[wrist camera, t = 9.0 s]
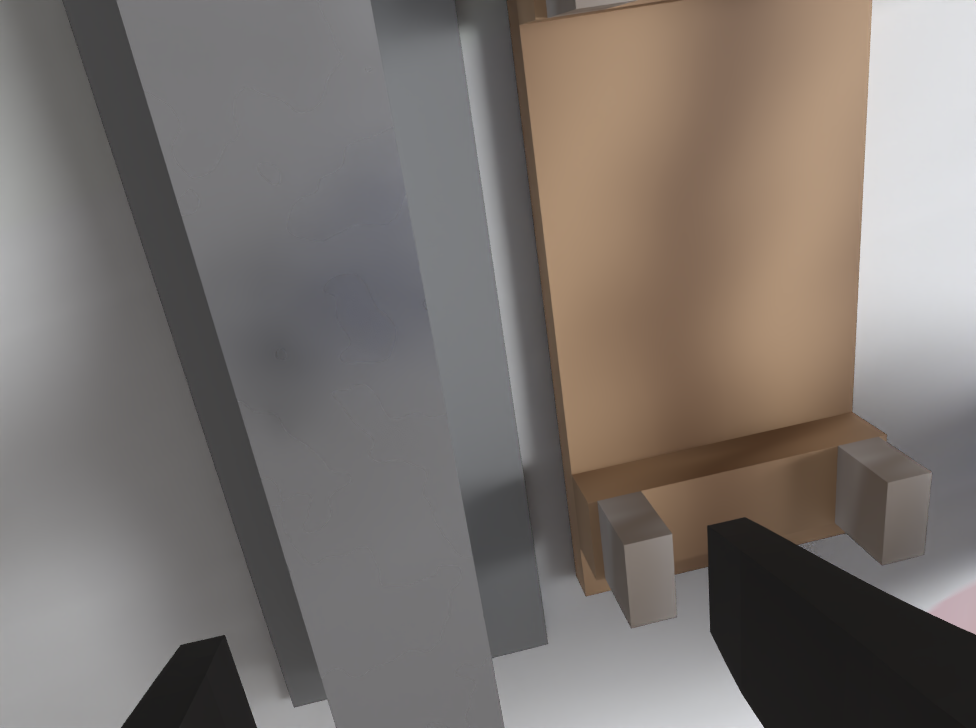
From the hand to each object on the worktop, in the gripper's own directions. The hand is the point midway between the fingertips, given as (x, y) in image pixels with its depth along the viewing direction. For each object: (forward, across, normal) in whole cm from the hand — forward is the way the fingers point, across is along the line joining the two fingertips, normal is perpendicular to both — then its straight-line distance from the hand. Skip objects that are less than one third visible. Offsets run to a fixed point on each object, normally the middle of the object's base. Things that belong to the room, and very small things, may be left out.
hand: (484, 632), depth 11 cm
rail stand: (+10, -8, -3) cm, 13 cm away
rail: (+9, +2, -3) cm, 10 cm away
